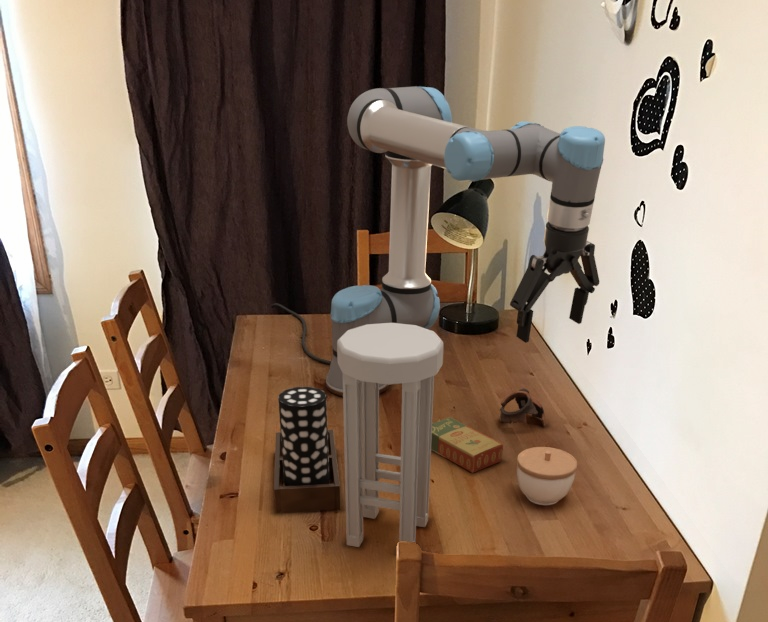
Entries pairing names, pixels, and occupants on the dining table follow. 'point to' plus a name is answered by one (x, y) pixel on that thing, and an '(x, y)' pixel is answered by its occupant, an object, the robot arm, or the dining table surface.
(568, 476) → the trinket box
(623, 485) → the dining table surface
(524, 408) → the broken clay pot
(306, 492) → the open wooden box
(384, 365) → the stool
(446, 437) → the carton
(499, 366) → the dining table surface
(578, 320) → the robot arm
